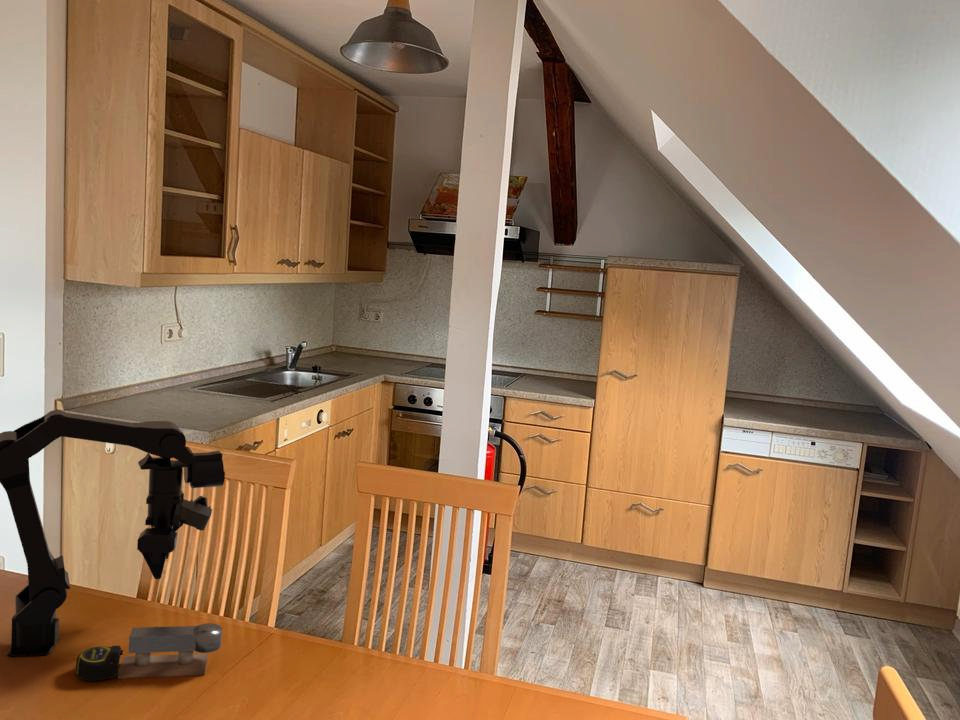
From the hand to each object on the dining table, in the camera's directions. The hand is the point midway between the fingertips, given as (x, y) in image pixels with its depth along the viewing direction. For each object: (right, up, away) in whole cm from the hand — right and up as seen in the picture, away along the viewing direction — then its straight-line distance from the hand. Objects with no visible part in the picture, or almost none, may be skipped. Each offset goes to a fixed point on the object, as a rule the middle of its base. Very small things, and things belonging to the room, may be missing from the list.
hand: (161, 568), depth 146 cm
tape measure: (-4, -14, -15) cm, 21 cm away
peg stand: (+5, -14, -12) cm, 19 cm away
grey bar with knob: (+8, -10, -12) cm, 18 cm away
